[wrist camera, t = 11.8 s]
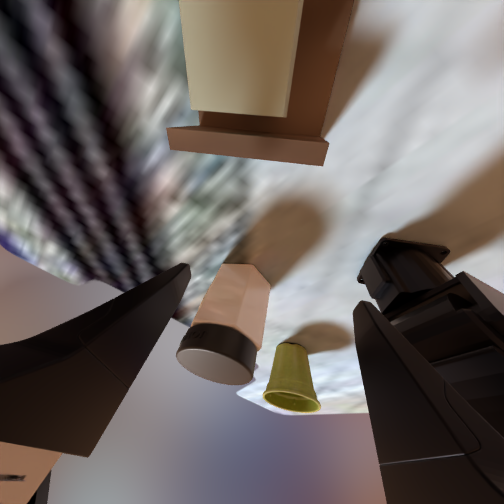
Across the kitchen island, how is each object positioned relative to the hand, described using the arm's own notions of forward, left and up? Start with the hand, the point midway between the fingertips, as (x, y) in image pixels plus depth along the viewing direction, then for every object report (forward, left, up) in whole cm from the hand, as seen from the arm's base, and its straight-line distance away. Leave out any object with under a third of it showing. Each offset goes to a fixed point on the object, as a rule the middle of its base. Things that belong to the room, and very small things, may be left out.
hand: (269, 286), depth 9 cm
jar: (+4, +13, -12) cm, 18 cm away
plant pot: (-7, +30, -12) cm, 33 cm away
